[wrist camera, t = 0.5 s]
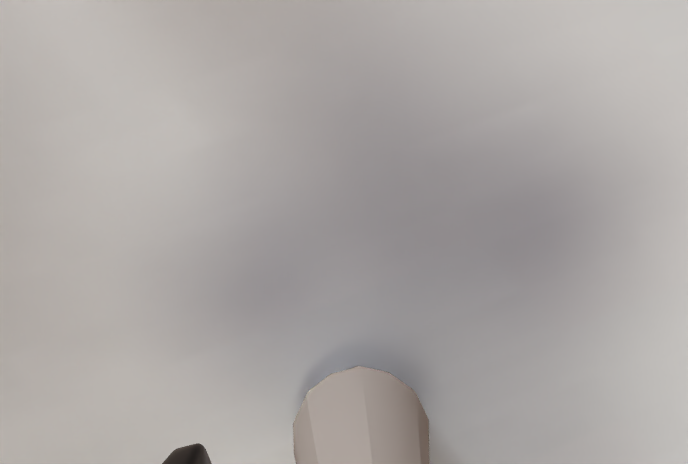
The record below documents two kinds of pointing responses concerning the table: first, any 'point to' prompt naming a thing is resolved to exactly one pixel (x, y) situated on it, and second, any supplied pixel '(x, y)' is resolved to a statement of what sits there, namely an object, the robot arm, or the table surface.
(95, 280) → the table surface
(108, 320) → the table surface
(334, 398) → the salt shaker
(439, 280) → the table surface
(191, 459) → the robot arm
